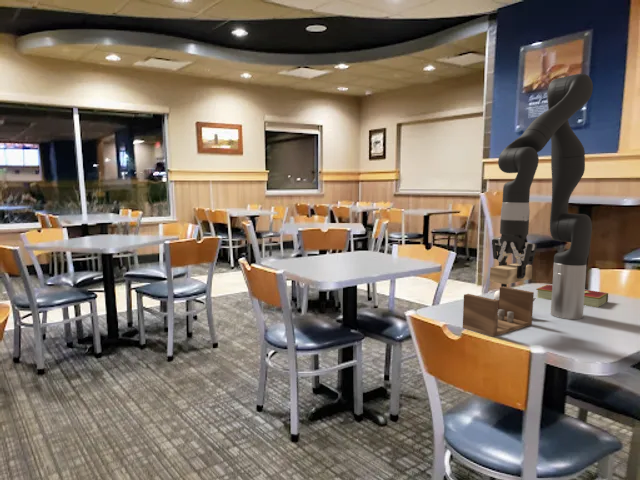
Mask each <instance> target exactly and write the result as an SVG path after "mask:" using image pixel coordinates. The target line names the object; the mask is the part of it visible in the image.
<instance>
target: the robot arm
mask: <svg viewBox="0 0 640 480" xmlns="http://www.w3.org/2000/svg"><path fill="white" fill-rule="evenodd" d="M593 90H594V85H593V81H592V79H591V77H590V76H589V75H588V74H585V73H576V74H572V75H569V76H568V75H567V76H563V77H558V78H555V79H553V80H551V82H550V83H549V85H548V88H547V94H546V95H547V97H546V98H547V110H546V111H544V112H543V113H541V114H540V115H539V116H537V117H536V118H535V119H534V120H532V122H531V123H530V124H529V125H528V127H527V128H526V129H525V130H524V131H523V132H522V134H521V135H520V136H518V137H517V138H516V139H514V141H512V142H510V143H509V144H508V145H507V146H506V147H505V148H504V149H502V151H501V152H500V154H499V157H498V161H497V165H498V169H499V170H501V172H503V173H504V174H505V173H506V174H516V177H515V178H514V180H511V181H508V182H506V183H504V185H503V187H502V200H501V201H502V203H501V209H500V221H499V222H500V224H499V227H500V228H499V233H500V235H501V236H500V238H496V239H495V238H494V239H491V248H492V258H493V259H494V260H496V261H498V266H503V265H508V262H507V260H509V259H508V258H509V257H510V256H511V255H513V257H514V258H515V259H516V263H518V265H519V266H517V278H518V279H522V278H524V277H525V273H526V272H525V271H526V265H532V264H533V263H534V260H535V255H536V251H537V247H538V244H537V243H534V242H529V241H528V238H527V237H528V235H529V229H530V212H531V211H530V195H531V186H532V183H533V180H534V177H535V175H536V172H537V171H538V170H537V169H538V166H539V160H540V159H539V154H538V153H539V152H541V151H542V150H543V149H544V148H545V147H546V145H547V144H548V142H549V141H550V140H551V142H550V144H551V146H550V149H551V151H550V160H551V162H550V165H551V167H550V168H551V207H550V218H549V232H550V236H551V238H552V239H553V240H554V241H557V242H564V243H570V247H569V248H568V249H567V250H565V251H561V252H557V253H555V254H554V256H553V270H552V271H553V272H552V284H551V285H552V300H550V301H551V304H550V315H551V316H554V317H556V318H557V317H558V318H562V319H567V320H568V319H569V320H580V319H583V317H584V308H585V305H584V294H585V290H586V278H587V264H588V263H587V261H588V257H589V254H590V246H591V241H592V240H591V239H592V232H593V223H592V220H591V217H590V216H589V215H587V214H585V213H569V204H570V203H569V202H570V198H571V196H572V193H573V192H574V190H575V189H576V187H577V186H578V184H579V183H580V181H581V179H582V178H583V176H584V173H585V170H586V152H585V151H586V150H585V148H584V145H583V144H582V142H581V141H580V139H579V137H578V135H576V133H575V132H574V131H573V129H572V127H571V125H570V122H569V119H570V118H571V117H572V116H573V115H574V114H576V113H577V112H578V111H579V110H580V109H581V108H582V107H584V106H585V105H586V104H587V103H588V101H589V100H590V99H591V97H592V95H593Z"/></svg>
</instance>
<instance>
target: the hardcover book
mask: <svg viewBox="0 0 640 480" xmlns="http://www.w3.org/2000/svg"><path fill="white" fill-rule="evenodd" d="M535 290H537V295H536V297H537V299H543V300H548V301H552V284H545V285H542V286H539V287H537V288H536V289H535ZM608 300H609V292H604V291H598V290H597V291H596V290H589V289H585V294H584V306H585V305H586V307H591V306H592V308H597V307H598V308H600V307H601V306H602V304H603V305H604V304H606V303H608V302H609V301H608ZM605 302H606V303H605ZM599 306H600V307H599Z"/></svg>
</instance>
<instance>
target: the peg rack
mask: <svg viewBox="0 0 640 480" xmlns="http://www.w3.org/2000/svg"><path fill="white" fill-rule="evenodd" d="M499 290H500V293H499V301H498V300H494V298H489V297H484V296H480V295H475V294H472V293H467V294H466V293H465V294H463V306H462V307H463V309H462V328H463V329H466V330H469V331H472V330H473V332H475V331H476V332H475V333H479V334H482V333H483V334H482V335H485V334H486V335H485V336H489V337H492V338H493V337H494V338H495V337H496V336H500V335H504V334H507V333H509V332H513V331H516V330H519V329H522V328H525V327H529V326H532V324H533V312H534V311H533V310H534V309H533V308H534V301H533V298H534V296H535V295H534V294H535V293H534V291H530V290H529V291H528V290H523V289H520V288H519V289H518V288H514V287H508V286H507V287H501V286H500V287H499ZM498 303H499V309H498Z"/></svg>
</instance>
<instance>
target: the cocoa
mask: <svg viewBox="0 0 640 480" xmlns="http://www.w3.org/2000/svg"><path fill="white" fill-rule="evenodd" d="M500 287H508V284H501V283H500ZM499 293H500V289H499V290H496V291H495V292H494V294H493V299H494V300H498V301H499ZM498 310H499V303H498Z"/></svg>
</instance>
